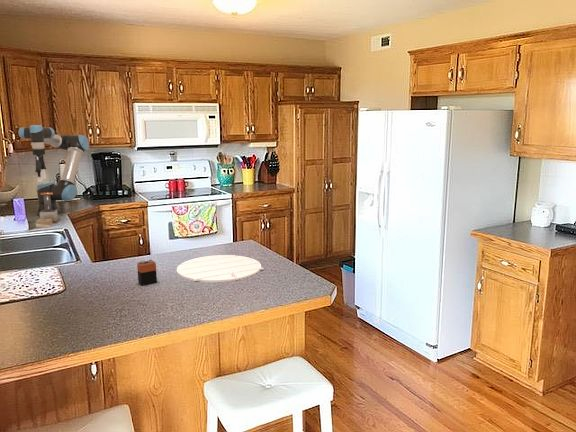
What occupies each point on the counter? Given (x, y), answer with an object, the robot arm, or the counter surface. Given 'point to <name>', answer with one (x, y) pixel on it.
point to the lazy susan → (219, 268)
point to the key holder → (43, 223)
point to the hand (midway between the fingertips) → (42, 180)
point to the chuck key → (47, 201)
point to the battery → (147, 272)
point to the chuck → (50, 215)
